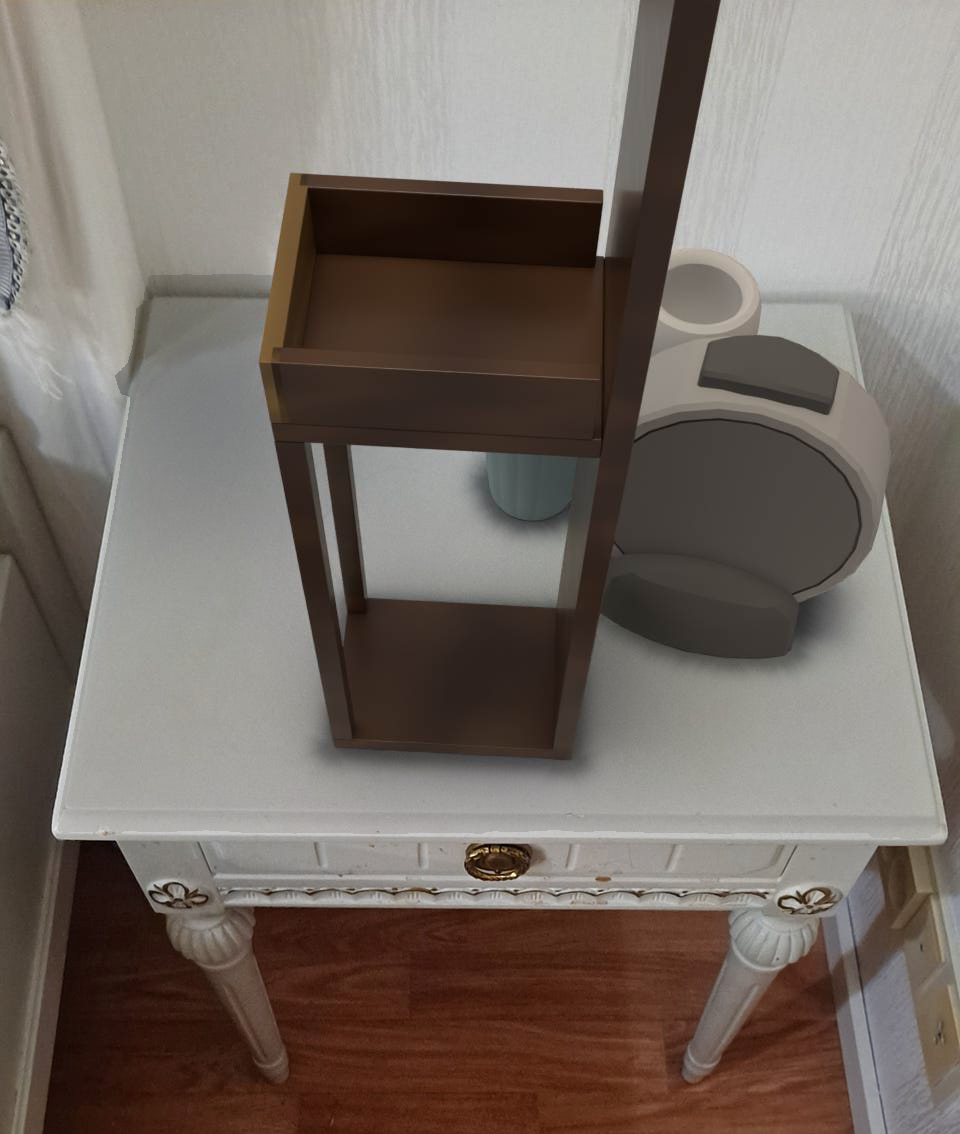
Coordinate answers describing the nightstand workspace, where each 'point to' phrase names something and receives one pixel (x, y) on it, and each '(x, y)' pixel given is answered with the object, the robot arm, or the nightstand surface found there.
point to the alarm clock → (743, 494)
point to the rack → (476, 399)
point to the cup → (530, 483)
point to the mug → (706, 299)
